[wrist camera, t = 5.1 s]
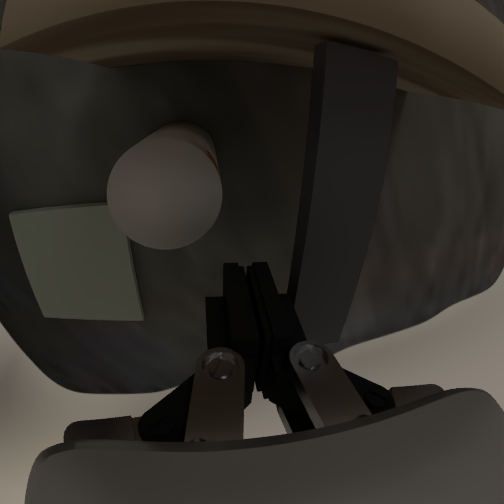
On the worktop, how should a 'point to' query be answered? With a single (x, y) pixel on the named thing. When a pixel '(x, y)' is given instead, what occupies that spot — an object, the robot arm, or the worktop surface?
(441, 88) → the stand
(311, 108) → the strap
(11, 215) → the mat
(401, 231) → the worktop surface
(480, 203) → the worktop surface
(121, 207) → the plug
